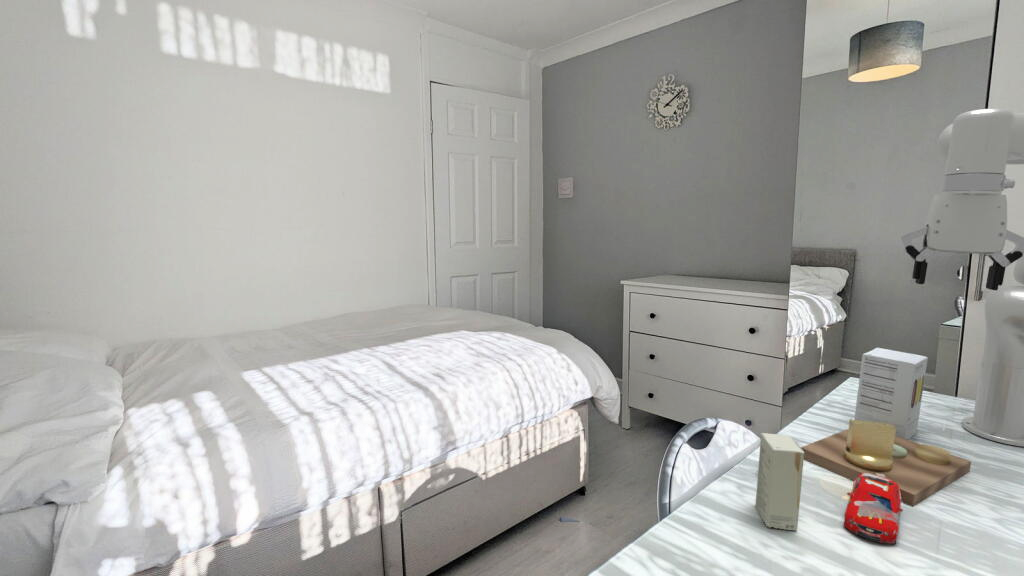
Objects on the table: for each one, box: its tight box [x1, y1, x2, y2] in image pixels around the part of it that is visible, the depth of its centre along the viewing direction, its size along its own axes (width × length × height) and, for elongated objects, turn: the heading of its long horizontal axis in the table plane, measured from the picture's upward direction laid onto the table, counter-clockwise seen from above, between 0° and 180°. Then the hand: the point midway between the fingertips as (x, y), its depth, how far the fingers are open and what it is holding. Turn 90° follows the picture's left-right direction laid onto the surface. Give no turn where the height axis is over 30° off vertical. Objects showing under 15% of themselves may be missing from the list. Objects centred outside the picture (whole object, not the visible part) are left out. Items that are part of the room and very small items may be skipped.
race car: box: [843, 473, 904, 544], centre depth 75 cm, size 16×7×5 cm, turn 139°
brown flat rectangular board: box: [800, 428, 972, 507], centre depth 91 cm, size 22×18×4 cm
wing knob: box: [844, 418, 896, 471], centre depth 88 cm, size 7×7×7 cm
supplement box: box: [853, 347, 928, 440], centre depth 105 cm, size 10×9×17 cm
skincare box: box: [755, 432, 805, 531], centre depth 74 cm, size 6×4×12 cm
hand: (954, 286), depth 86 cm, fingers open, 9 cm apart
